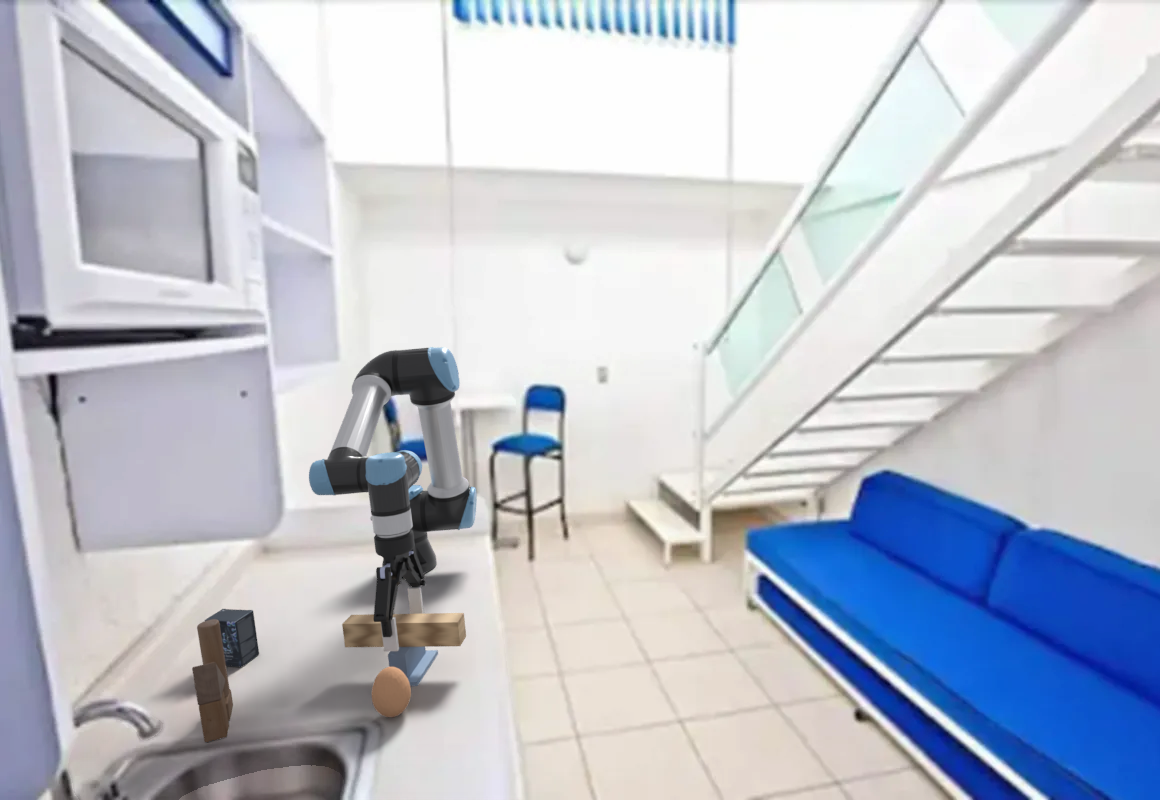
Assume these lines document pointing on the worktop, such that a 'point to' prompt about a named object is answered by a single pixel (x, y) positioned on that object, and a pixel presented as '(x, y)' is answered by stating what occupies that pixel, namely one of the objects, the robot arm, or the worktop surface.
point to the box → (237, 636)
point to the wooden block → (212, 683)
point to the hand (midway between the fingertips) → (405, 633)
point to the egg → (391, 692)
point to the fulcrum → (412, 662)
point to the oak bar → (407, 630)
